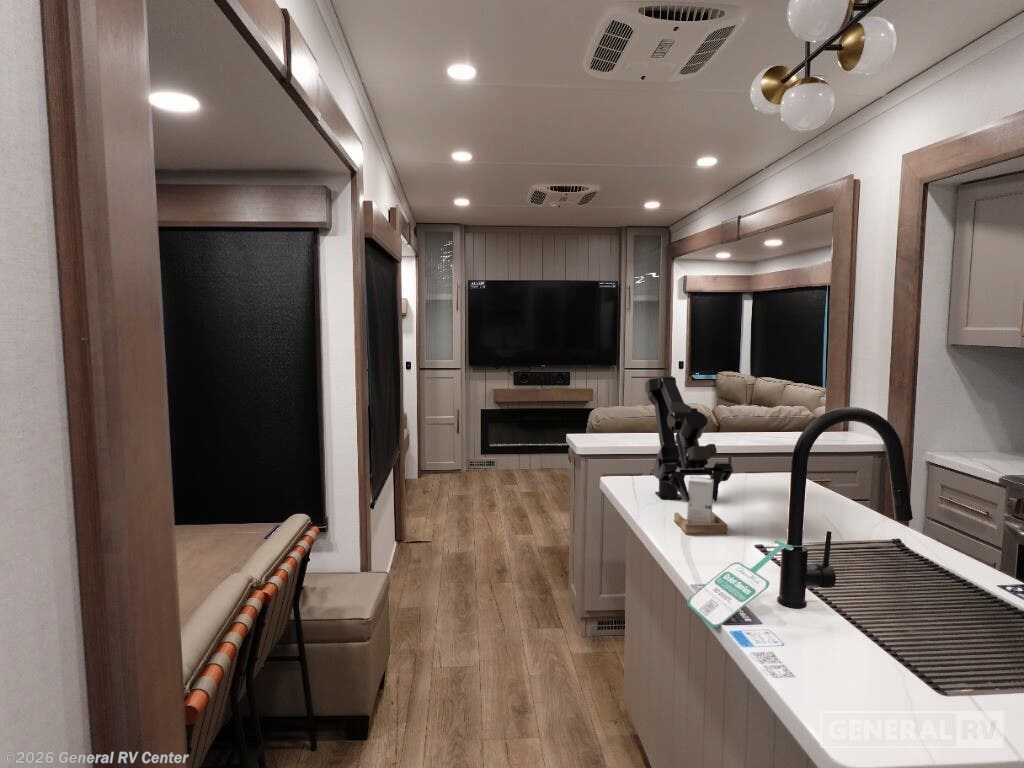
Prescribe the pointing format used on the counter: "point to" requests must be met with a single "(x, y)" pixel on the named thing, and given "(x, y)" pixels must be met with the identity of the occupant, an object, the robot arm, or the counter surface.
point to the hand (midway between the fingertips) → (701, 500)
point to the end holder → (701, 526)
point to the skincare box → (700, 500)
